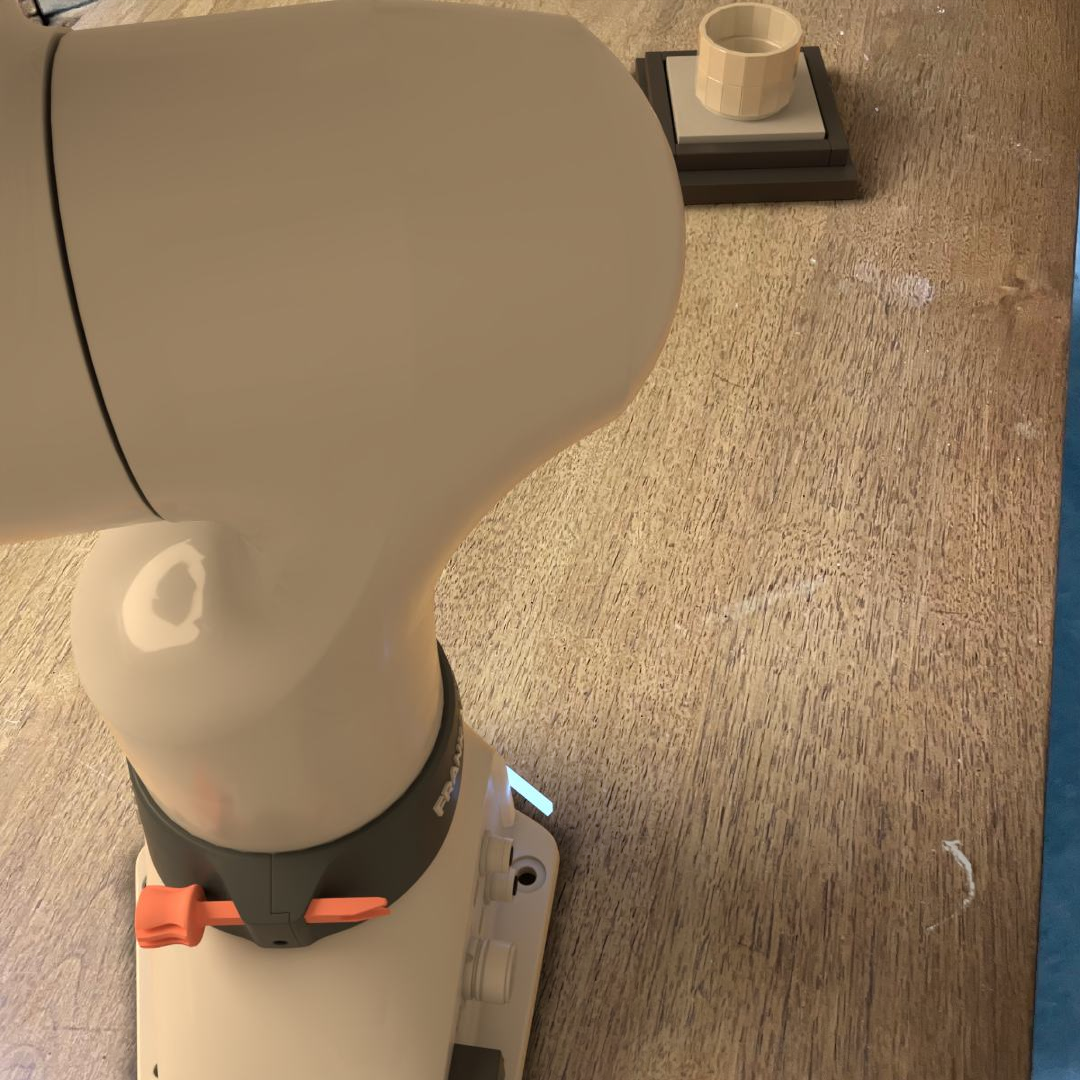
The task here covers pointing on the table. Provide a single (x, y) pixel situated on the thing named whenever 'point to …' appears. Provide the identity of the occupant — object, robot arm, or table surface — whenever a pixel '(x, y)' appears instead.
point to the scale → (756, 149)
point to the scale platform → (707, 127)
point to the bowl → (747, 60)
